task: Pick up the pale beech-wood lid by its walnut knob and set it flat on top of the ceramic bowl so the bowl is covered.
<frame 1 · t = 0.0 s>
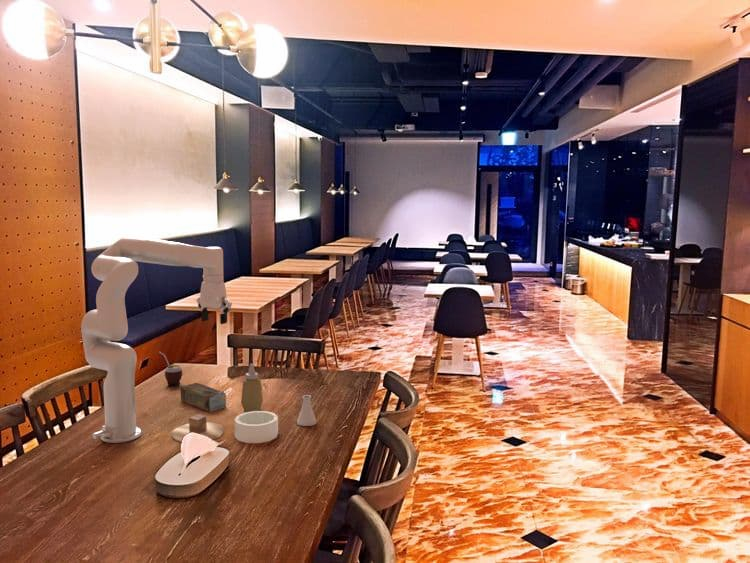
hand: (214, 322, 242), 31 cm above the table, tool pointing down, fingers open, 9 cm apart
flask: (306, 423, 222), on the table
lid: (198, 434, 211), on the table
mate gourd: (172, 385, 263), on the table
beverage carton: (203, 405, 241), on the table
squeeze bottle: (252, 411, 234), on the table
bowl: (256, 435, 210), on the table
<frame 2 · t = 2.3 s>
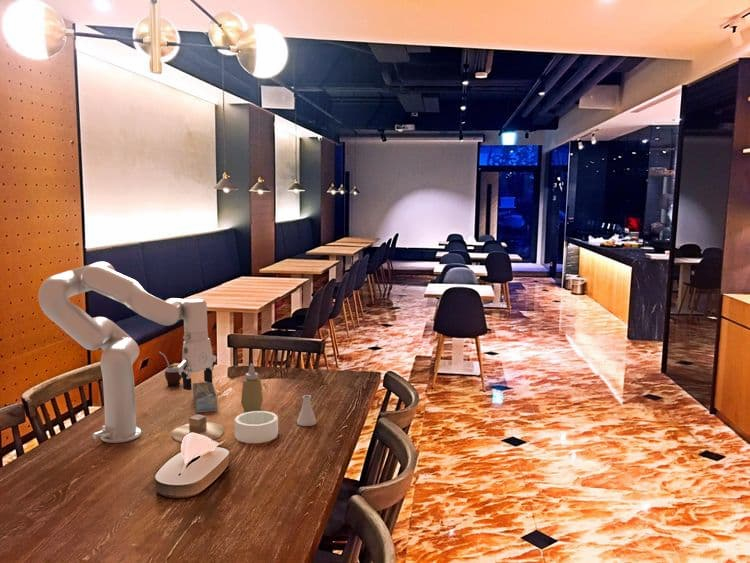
hand: (198, 385, 209), 17 cm above the table, tool pointing down, fingers open, 9 cm apart
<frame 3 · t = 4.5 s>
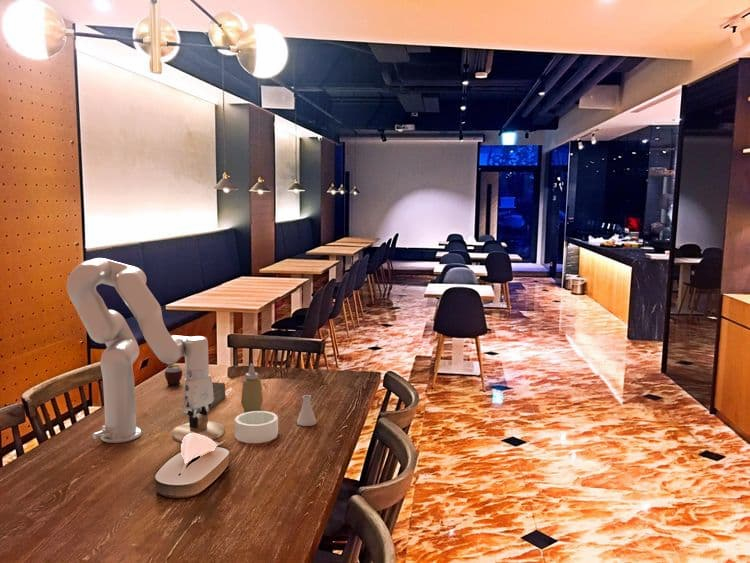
hand: (198, 424, 211), 3 cm above the table, tool pointing down, fingers closed on lid, 4 cm apart
lid: (198, 433, 211), on the table, touching gripper
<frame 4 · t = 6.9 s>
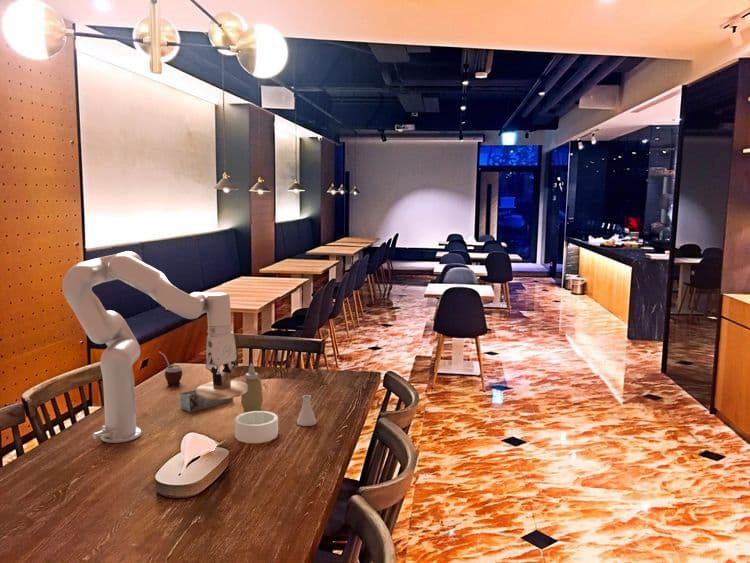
hand: (222, 382, 208), 18 cm above the table, tool pointing down, fingers closed on lid, 4 cm apart
lid: (222, 391, 209), point 15 cm above the table, touching gripper
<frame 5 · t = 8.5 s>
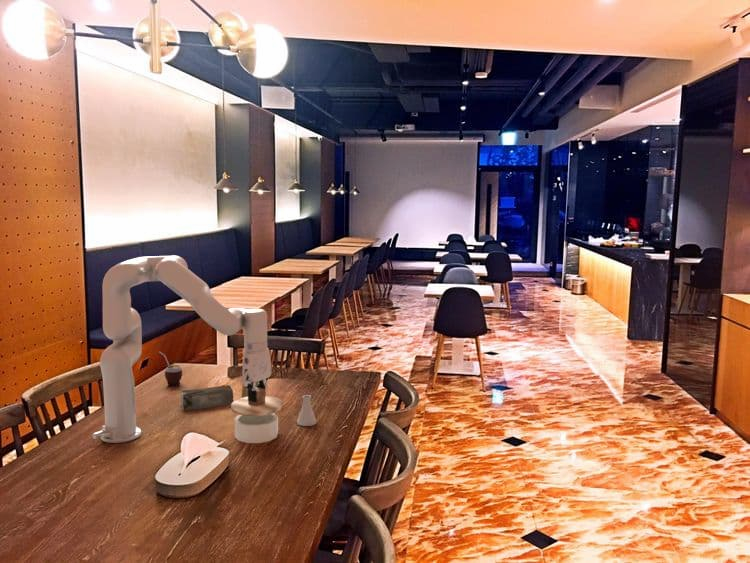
hand: (256, 398, 209), 13 cm above the table, tool pointing down, fingers closed on lid, 4 cm apart
lid: (256, 407, 209), point 10 cm above the table, touching gripper
when the fingers open (10 cm above the table, at t = 9.6 s): lid drops 1 cm, resting on bowl.
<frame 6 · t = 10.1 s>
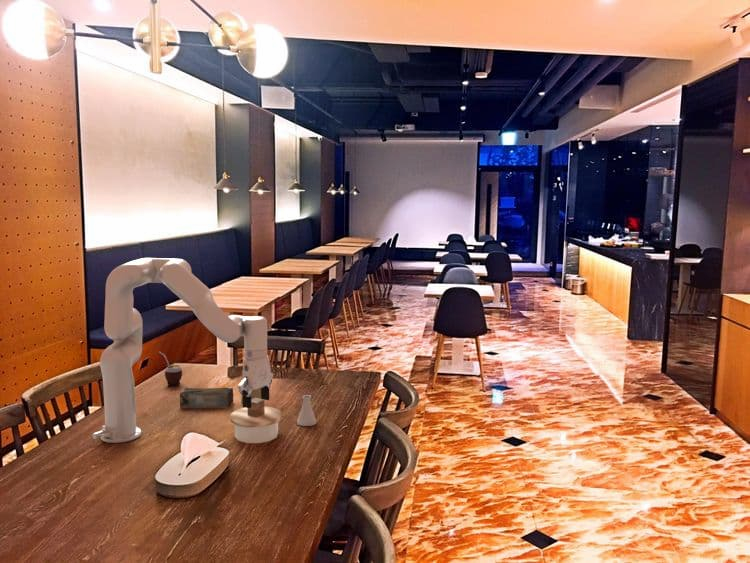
hand: (256, 403, 209), 11 cm above the table, tool pointing down, fingers open, 9 cm apart
lid: (256, 418, 209), point 6 cm above the table, touching bowl
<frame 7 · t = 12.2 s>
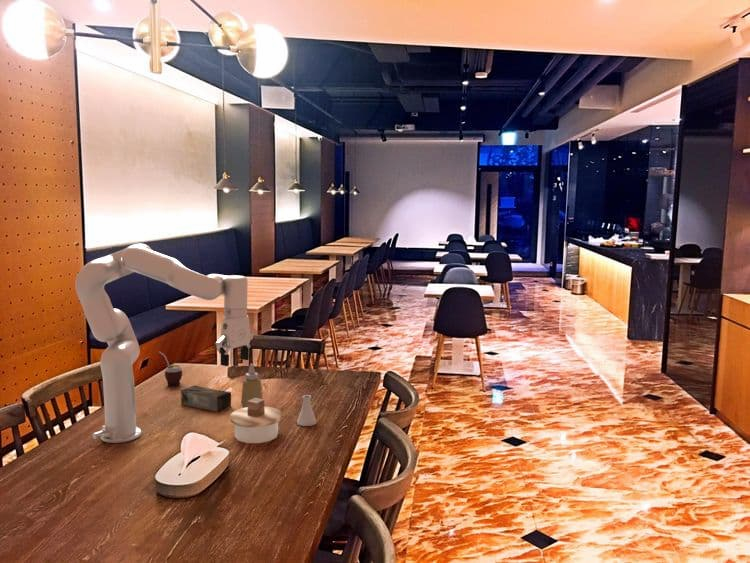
hand: (234, 362, 209), 25 cm above the table, tool pointing down, fingers open, 9 cm apart
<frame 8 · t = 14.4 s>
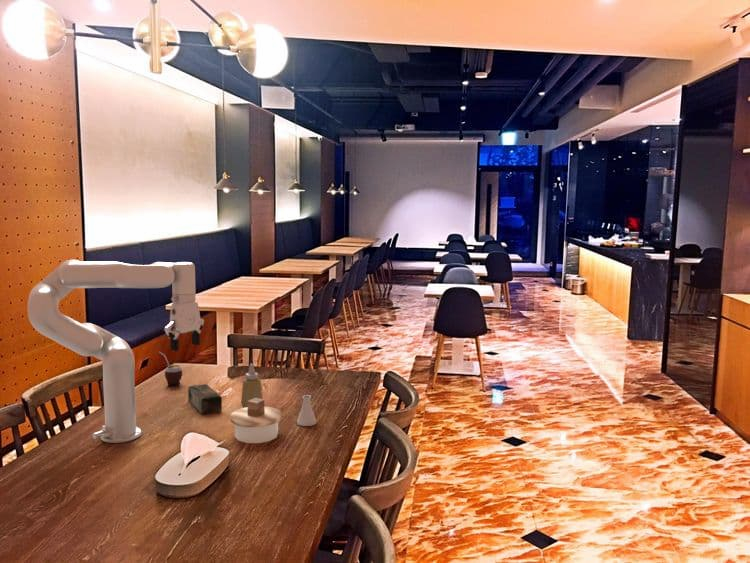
hand: (185, 347, 214), 28 cm above the table, tool pointing down, fingers open, 9 cm apart
at the end: lid 0.1 cm from the bowl (horizontally); lid point 6.0 cm above the table; lid tilted 0° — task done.
